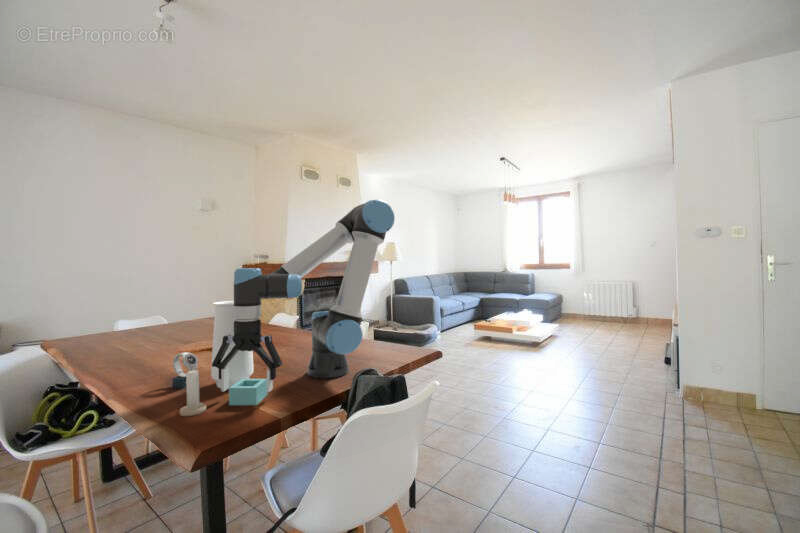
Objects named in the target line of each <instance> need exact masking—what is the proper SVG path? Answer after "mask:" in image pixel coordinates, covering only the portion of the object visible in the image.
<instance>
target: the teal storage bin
mask: <svg viewBox="0 0 800 533" xmlns="http://www.w3.org/2000/svg"><path fill="white" fill-rule="evenodd" d="M268 395H269V392H267V378H249V379H241V380H240V381H238V382H237V383H235V384H234V385H233V386H231V387H230V388H229V389H228V406H257V405H258V404H259V403H260V402H262V401H263V400H264V399H265V398H266V397H268Z"/></svg>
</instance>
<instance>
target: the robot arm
mask: <svg viewBox="0 0 800 533" xmlns="http://www.w3.org/2000/svg"><path fill="white" fill-rule="evenodd" d="M394 224H395V213H394V210H393V209H392V207H391V205H390V204H389V203H388V202H386V201H384V200H382V199H371V200H368V201H367V202H365V203H364V202H363V203H361V204H359V205H357V206H354V208H352V209H351V210H350V211H349V212H348V213H347V214H346V215H344V216H343V217H342V218H341V219H339V220H338V221H336V223H335V227H333V228H332V229H330V230H329V231H328V232H326V233H324V234H323V235H322V236H320V238H318V239H317V240H316V241H314V242H313V243H311V244H310V245H308V246H307V247H305V248H304V249H303V250H302V251H299V253H298V254H296V255H294V257H292V258H290V259H289V260H288V261H287V262H285V263H284V264H282V265H281V266H280V267H278V268H277V269H276V270H274V271H273V272H272V273H268V274H264V273H262V269H261V268H258V267H257V268H255V267H254V268H253V267H251V268H249V267H247V268H246V267H244V268H243V267H238V268H236V269H235V270H234V272H233V301H234V319H236V320H235V321H234V336H231V335H226V336H224V337H223V342H222V345H221V347H220V349H219V351H218V353H217V355H216V357H215V359H214V361H213V363H212V362H211V367H212V366H213V367H217V368H218V369H219V379H221V388H220V390H221V391H220V392H225V391H227V390H229V389H228V388H229V367H225V366H227V364H228V363H229V362H230V360H231V359H232V358H233V357H234V356H235V354H236V353H237V352H238V351H239V350H241V351H252V352H254V353H256V354H257V356H259V358H260V359H261V360H262V361H263V363H264V364H265V365H266V366H267V368H268V369H266V379H267V392H268V393H270V392H271V391H272V390H273V389H274V380H276V377H277V368H280V367H281V366H282V365H283V361H282V360H281V357H280V354H279V353H278V351H277V349H276V347H275V345H274V342H273V338H272V335H271V334H267V335H264V336H262V320H261V319H260V318H261V317H262V300H267V299H293V298H299V297H300V296H301V295H302V291H303V281H302V278H303V277H305V276H306V275H308V274H309V273H310V272H312V271H313V270H314V269H315V268H316V267H319V265H321V264H322V263H323V262H324V261H326V260H327V259H329V258H330V257H331V256H333V255H334V254H335V253H337V252H338V251H339V250H340V249H342V248H343V247H344V246H346V245H347V244H352V247H351V251H350V254H349V258H348V261H347V264H346V266H345V267H346V268H345V272H344V275H343V278H342V281H341V285H340V288H339V292H338V295H337V297H336V298H337V299H336V302H335V304H334V306H332V307H330V308H329V310H325V311H324V310H323V311H314V312H312V314H311V320H310V322H311V349H312V351H311V356H310V359H309V362H308V365H307V375H308V376H309V377H310V378H315V379H332V378H333V379H335V378H338V377H342V376H344V375H347V374H348V373H349V372H350V365H349V361H348V358H347V356H346V355H348V354H351V353H353V352H355V351H356V350H357V349H358V348H359V346H360V345H361V344H362V340H363V330H362V327H361V325H362V321H363V315H362V313H361V308H362V304H363V301H364V297H365V294H366V291H367V290H366V289H367V286H368V284H369V279H370V275H371V272H372V268H373V264H374V262H375V257H376V254H377V250H378V248H379V245H381V244H383V243H384V240H385V238H386V234H387V233H388V232H390V230H391V229H392V228H393V226H394ZM232 340H233V342H234V343H235V346H234V347H233V348H232V350H231V351H230V353H229V354H228V355H227V356H226V357H225V359H224V360H223V361H222V359H223V357H224V355H225V353H226V351H227V349H228V347H229V344H230V343H231V342H232ZM261 342H263V344H264V345H265V347H266V350H267V351H268V352H267V351H266V350H265V349H264V346H262V344H261ZM268 353H269V354H268ZM221 361H222V362H221Z"/></svg>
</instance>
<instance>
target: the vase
mask: <svg viewBox="0 0 800 533" xmlns="http://www.w3.org/2000/svg"><path fill="white" fill-rule="evenodd" d="M212 305H213V306H215V307H214V322H213V332H212V333H213V334H212V335H213V336H212V350H211V351H212V353H211V354H212V355H211V364H212V363H213V361H214V359H215V357H216V355H217V353H218V351H219V349H220V347H221V345H222V342H223V337H224V336H226V335H231V336H234V321H235V320H236V319H234V300H223V301H222V300H221V301H215V302H213V303H212ZM234 346H235V343H234V342H233V340H232V342H231V343H230V344H229V347H228V349H227V351H226V353H225V355H224V357H223V359H222V361H223V360H224V359H225V357H226V356H227V355H228V354H229V353H230V351H231V350H232V348H233V347H234ZM222 361H221V362H222ZM225 367H229V388H230V387H231V386H233V385H234V384H235V383H237V382H238V381H240V380H241V379H251V375H252V374H254V367H255V366H254V355H253V350H252V351H241V350H239V351H238V352H237V353H236V354H235V356H234V357H233V358H232V359H231V360H230V362H229V363H228V364H227V366H225ZM210 370H211V371H210V372H211V379H212V380H214V382H215V384H216V388H219V389H221V379H219V369H218V368H217V367H213V366H212V365H211V369H210ZM229 388H228V389H227V390H229Z"/></svg>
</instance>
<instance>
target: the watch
mask: <svg viewBox="0 0 800 533" xmlns="http://www.w3.org/2000/svg"><path fill="white" fill-rule="evenodd" d="M180 357H181V358H182V364H183V366H184V367H186V368H187V371H193V370H197V368H198V364H199V358H198V357H197V355H195V354H194V353H191V352H188V351H185V352H181V353H177V354H175V356H174V357H173V360H172V368H173V370H174V372H175V374H176V375H178V376H175V377H172V389H174V388H175V389H185V388H186V389H187V384H186V373H185V372H184V370H183V367H182V366H181V365H182V364H181V363H180Z"/></svg>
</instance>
